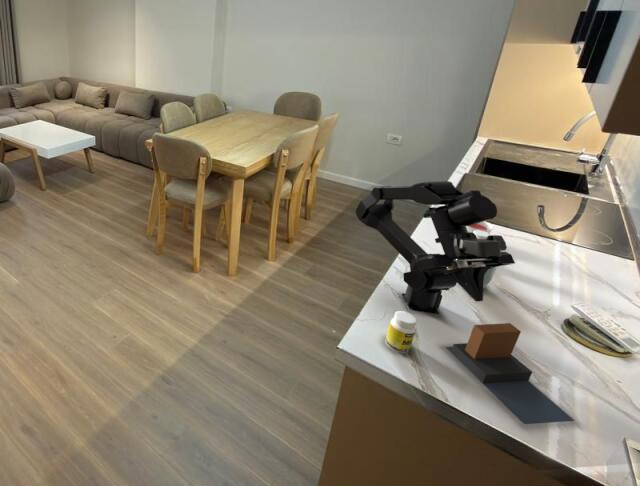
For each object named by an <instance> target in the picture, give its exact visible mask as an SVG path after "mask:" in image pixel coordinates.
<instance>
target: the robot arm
mask: <svg viewBox="0 0 640 486" xmlns="http://www.w3.org/2000/svg"><path fill="white" fill-rule="evenodd" d="M383 200H384V201H383ZM394 200H397V201H398V200H399V201H400V200H404V201H413V202H415V203H417V204H421V205H424V206H430V207H427V208H426V211H425V212H424V213H423V215H422V217H423V218H424V219H431V222H432V224H433V226H434V229H435V233H436V234H437V238H434V241H435V243H436V244H440V245H441V248H442V250H443V254H441V253H428V252H426V251H425V250H424V249H423V248H422V247H421V246H420V245H419V244H418V243H417V242H416V241H415V240H414V239H413V238H412V237H411V236H410V235H409V234H408V233H407V232H405V231H404V229H402V227H400V226H399V225H398V224H397V222H396V221H394V220H393V210H394V208H395V205H394ZM380 201H383V202H380ZM431 206H432V207H431ZM433 206H434V207H433ZM435 206H437V207H435ZM497 215H498V207H497V205H496V204H495V203H494V202H493V201H492V200H491V199H490V198H489V197H487V196H485V195H483V194H482V193H481V191H480V190H479V189H475V190H474V189H473V190H468V191H466V192H463V191H461V190H460V189H459V188H457V187H455V185H454V184H453V182H452V181H449V180H441V181H439V180H436V181H435V180H434V181H433V180H432V181H421V182H418V183H414V184H412V185H406V186H405V185H404V186H400V185H399V186H398V185H397V186H392V185H377V186H374V187H373V189H372V190H371V191H370V193H368V194H367V195H366V196H365V197H363V198H362V199H361V200H360V202H359V203H358V205H357V207H356V209H355V216H356V217H357V220H359V222H361V223H362V224H363V225H365V226H366V227H369V228H371V229H374V230H377V231H378V233H380V235H381V236H382V237H383V238H384V239H385V240H386V241H387V242H388V243H389V244H390V245H391V246H392V247H393V248H394V250H395V251H397V252H398V253H399V254H400V255H401V257H402V258H403V259H404V260H405V261H406V262H407V263H408V264H409V271H405V272H403V274H402V275H403V282H404V283H406V284H407V286H406V290H405V292H404V293H401V297H402V299H403V300H404V303H406V305H407V307H408V309H409V310H411V311H416V312H420V313H421V312H422V313H427V314H432V315H433V314H434V315H439V314H440V312H439V311H438V309H439V308H440V306H441V303H442V299H443V295H442V293H443V291H449V290H450V289H453V288H454V287H456V286H457V284H458V285H459V286H460V287H461V288H462V289H463V290H464V291H465V292H466V293H467V294H468V295H469V297H471V298H472V299H473V300H474V302H483V301H484V288H483V281H484V275H485V273H486V272H487V271H488V269H492V268H493V267H497V268H498V267H504V266H509V265H515V264H516V261H515V260H514V257H513V255H512V254H511V253H509V252H507V251H506V250H507V243H506V241H505V239H504V238H503V236H502V235H497V234H490V235H489V236H488V237H487V239H477V237H476V235H475V234H474V233H473V232H469V233H468V230H467V228H466V226H471V225H474V224H477V223H481V222H484V221H486V222H487V221H490V220H493V219H495V218H496V217H497Z"/></svg>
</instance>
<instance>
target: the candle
mask: <svg viewBox="0 0 640 486" xmlns="http://www.w3.org/2000/svg"><path fill="white" fill-rule="evenodd" d="M466 228H467V230H468V233H469V232H474V231H475V230H480V231H484V232H487V233H489V234H490V235H491V233H492V231H493V229H494V226H493V225H492V224H491V223H490V222H487V221H484V222H481V223H477V224H474V225H471V226H466Z"/></svg>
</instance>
